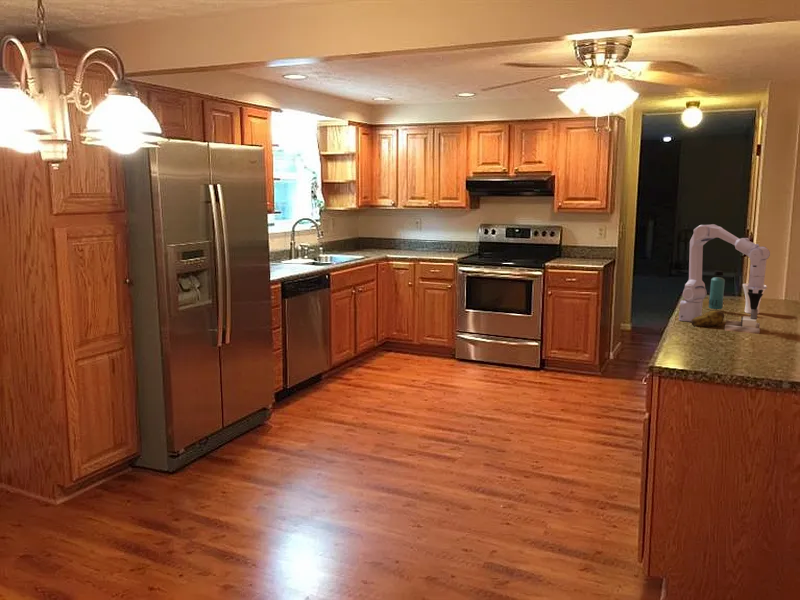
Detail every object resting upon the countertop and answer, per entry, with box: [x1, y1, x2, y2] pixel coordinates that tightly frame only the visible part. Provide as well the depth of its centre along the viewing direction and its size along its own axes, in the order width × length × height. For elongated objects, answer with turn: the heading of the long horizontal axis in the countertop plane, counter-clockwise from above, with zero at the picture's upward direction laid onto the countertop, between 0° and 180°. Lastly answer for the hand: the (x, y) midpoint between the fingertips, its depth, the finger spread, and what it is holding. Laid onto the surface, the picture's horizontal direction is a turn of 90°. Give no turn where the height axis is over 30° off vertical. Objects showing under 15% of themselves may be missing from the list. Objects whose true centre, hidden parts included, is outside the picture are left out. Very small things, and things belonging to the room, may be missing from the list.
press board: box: [724, 319, 761, 335], centre depth 285 cm, size 13×14×3 cm
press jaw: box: [740, 309, 759, 328], centre depth 283 cm, size 6×9×8 cm, turn 152°
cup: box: [742, 282, 768, 314], centre depth 325 cm, size 10×10×14 cm
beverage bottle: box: [708, 270, 726, 310], centre depth 327 cm, size 6×7×20 cm
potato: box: [690, 309, 725, 328], centre depth 290 cm, size 8×13×8 cm, turn 67°
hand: (753, 307), depth 282 cm, fingers open, 7 cm apart
